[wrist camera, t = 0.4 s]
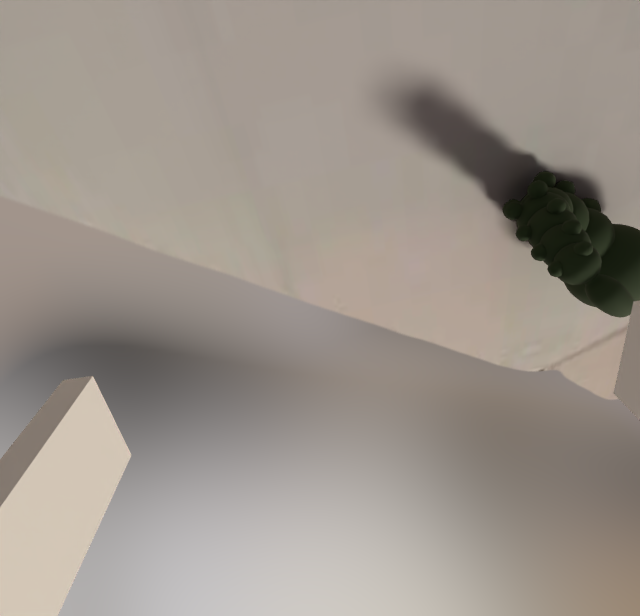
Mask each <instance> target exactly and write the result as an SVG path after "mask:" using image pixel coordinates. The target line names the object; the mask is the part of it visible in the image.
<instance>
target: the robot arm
mask: <svg viewBox="0 0 640 616" xmlns="http://www.w3.org/2000/svg"><path fill="white" fill-rule="evenodd" d="M614 394H615V395H616V396H617V397H618V398H619V399H620V400H621V401H622V402H623V404H625V406H626V407H627V408H628V409H629V410H630V411H631V412H632V413H633V414H634V415H635V416H636V417H637V418H638V419H639V420H640V301H633V306H632V311H631V315H630V320H629V325H628V329H627V334H626V338H625V343H624V348H623V352H622V357H621V361H620V366H619V371H618V375H617V380H616V385H615V389H614ZM130 457H131V453H130V451H129V449H128V447H127V445H126V443H125V441H124V439H123V437H122V435H121V433H120V431H119V429H118V427H117V425H116V423H115V421H114V419H113V416H112V414H111V413H110V410H109V408H108V406H107V404H106V402H105V400H104V398H103V396H102V394H101V392H100V390H99V388H98V386H97V384H96V382H95V380H94V378H93V376H90V377H82V378H75V379H68V380H63V381H62V382H61V384H60V385H59V386H58V387H57V389H56V390H55V391H54V392H53V393H52V395H51V396H50V397H49V399H48V400H47V401H46V402H45V404H44V405H43V406H42V407H41V409H40V410H39V411H38V412H37V414H36V415H35V416H34V417H33V419H32V420H31V421H30V423H29V424H28V425H27V426H26V428H25V429H24V430H23V431H22V433H21V434H20V435H19V437H18V438H17V439H16V440H15V442H14V443H13V444H12V445H11V447H10V448H9V449H8V451H7V452H6V453H5V454H4V455H3V457H2V458H1V459H0V616H58V614H59V612H60V610H61V607H62V605H63V603H64V601H65V599H66V596H67V594H68V592H69V590H70V588H71V586H72V583H73V581H74V579H75V577H76V575H77V573H78V570H79V568H80V566H81V564H82V562H83V559H84V557H85V555H86V553H87V551H88V549H89V546H90V544H91V542H92V540H93V538H94V535H95V533H96V531H97V529H98V527H99V524H100V522H101V520H102V518H103V516H104V514H105V512H106V509H107V507H108V505H109V503H110V501H111V498H112V496H113V494H114V492H115V490H116V488H117V485H118V483H119V481H120V479H121V477H122V474H123V472H124V470H125V468H126V466H127V463H128V461H129V459H130Z"/></svg>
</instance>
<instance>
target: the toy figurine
mask: <svg viewBox="0 0 640 616" xmlns="http://www.w3.org/2000/svg"><path fill="white" fill-rule="evenodd" d="M555 183H556V178H555V176H554V175H553V173H550V172H546V171H543V172H540V173H539V174H538V175H537V176H536V177H534V180H533V182H532V183H531V184H530V185H529V186H528V189H527V193H528V194H527V195H526V196H525V197H524V198H523V199H522V200H521V201H519V200H516V199H512V200H509V201H508V202H507V203H506V204H504V206H503V213H504V216H505V217H506V218H508V219H510V220H516V219H517V220H516V222H517V227H518V229H517V231H516V236H517V238H518V239H519V240H521V241H527V240H528V241H529V243H530V244H531V245H532V246H533V249H532V251H531V255H532V257H533V258H534V259H535V260H538V261H544V262H545V263H546V264H547V265H548V272H549V273H550V275H551V276H554V277H558V278H559V279H560V280H561V281H563V282H564V283H565V285H566V287H567V289H568V290H569V291H570V293H571V294H572V295H574V296H575V297H576V298H577V299H579V300H580V301H581V302H583V303H585V304H587V305H590V306H594V307H597V308H599V309H600V310H602V311H603V312H605V313H607V314H609V315H611V316H615V317H626V316H628V315H630V314H631V311H632V306H633V301H640V230H638V229H636V228H633V227H630V226H626V225H621V224H612V223H611V221H610V220H609V219H608V217H607V216H605V215H604V214H603V213H601V208H600V205H599V203H598V201H597V200H594V199H590V198H584V199H580V198H578V197H577V196H575V195H574V193H575V187H574V184H573V182H570V181H565V180H563V181H560V182H558V183H557V184H556V186H555ZM554 186H555V187H554ZM553 187H554V188H553Z"/></svg>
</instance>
